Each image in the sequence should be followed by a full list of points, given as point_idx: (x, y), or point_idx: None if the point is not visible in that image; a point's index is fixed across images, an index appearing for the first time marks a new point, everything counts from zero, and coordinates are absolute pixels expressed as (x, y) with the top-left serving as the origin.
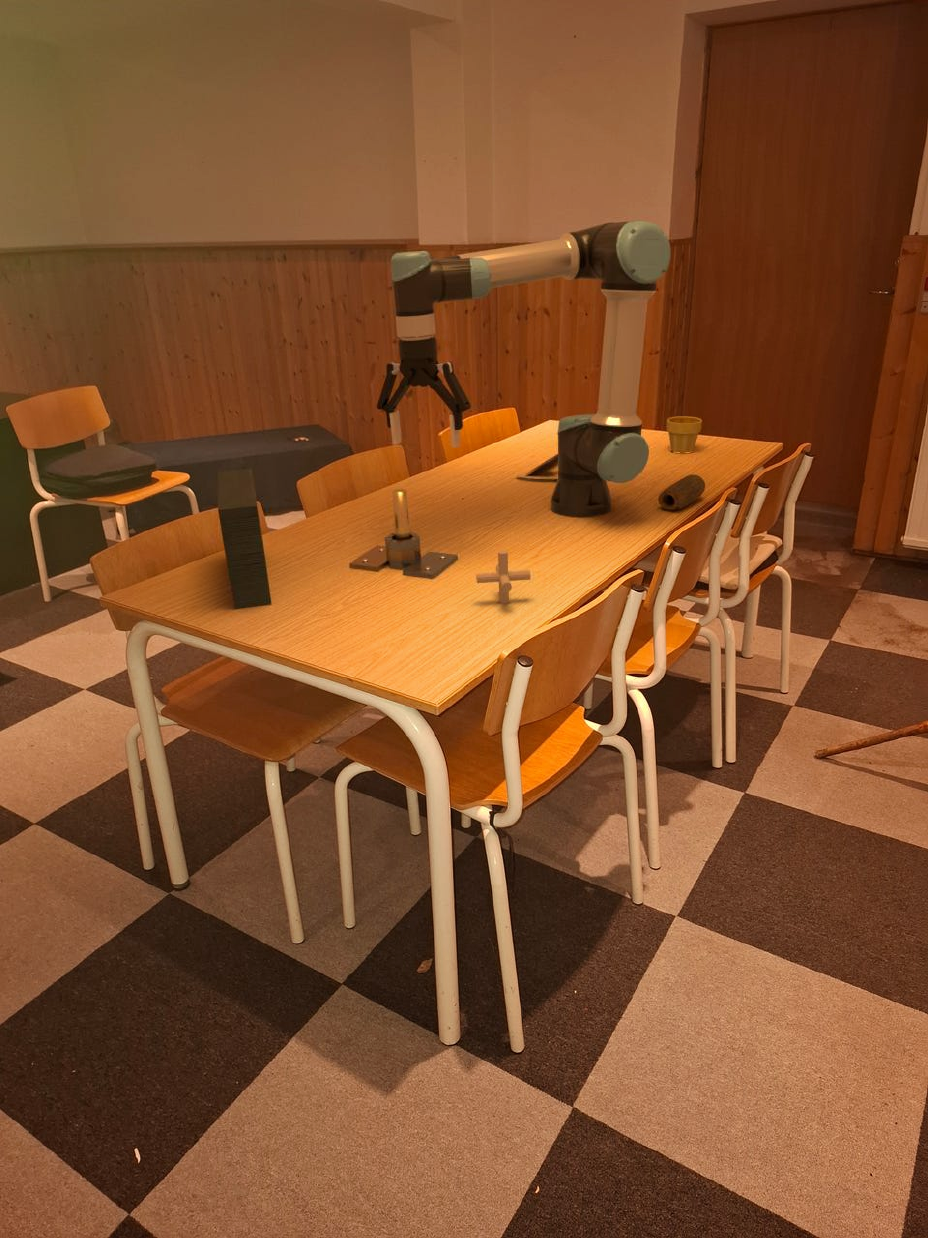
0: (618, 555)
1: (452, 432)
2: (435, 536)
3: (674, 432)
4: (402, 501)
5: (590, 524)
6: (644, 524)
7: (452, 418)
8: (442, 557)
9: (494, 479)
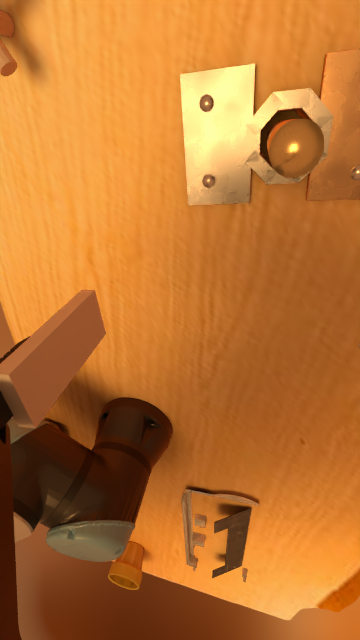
0: (10, 292)
1: (55, 320)
2: (280, 295)
3: (129, 565)
4: (276, 130)
5: (98, 378)
6: None
7: (6, 360)
8: (206, 177)
9: (286, 499)
